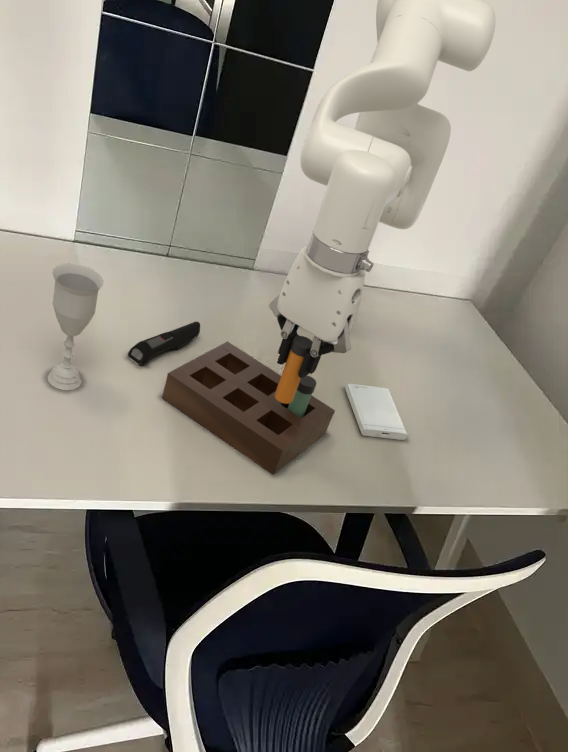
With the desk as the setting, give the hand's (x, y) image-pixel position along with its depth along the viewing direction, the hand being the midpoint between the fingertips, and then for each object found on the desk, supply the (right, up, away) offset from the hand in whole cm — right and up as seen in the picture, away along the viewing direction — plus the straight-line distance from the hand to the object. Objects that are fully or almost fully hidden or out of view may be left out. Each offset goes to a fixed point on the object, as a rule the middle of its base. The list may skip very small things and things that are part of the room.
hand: (294, 366), depth 113 cm
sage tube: (-1, -8, +15) cm, 17 cm away
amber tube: (-2, -4, +4) cm, 6 cm away
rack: (-8, -6, +14) cm, 17 cm away
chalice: (-35, -1, +9) cm, 36 cm away
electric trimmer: (-22, +6, +22) cm, 32 cm away
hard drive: (+14, -5, +25) cm, 29 cm away
